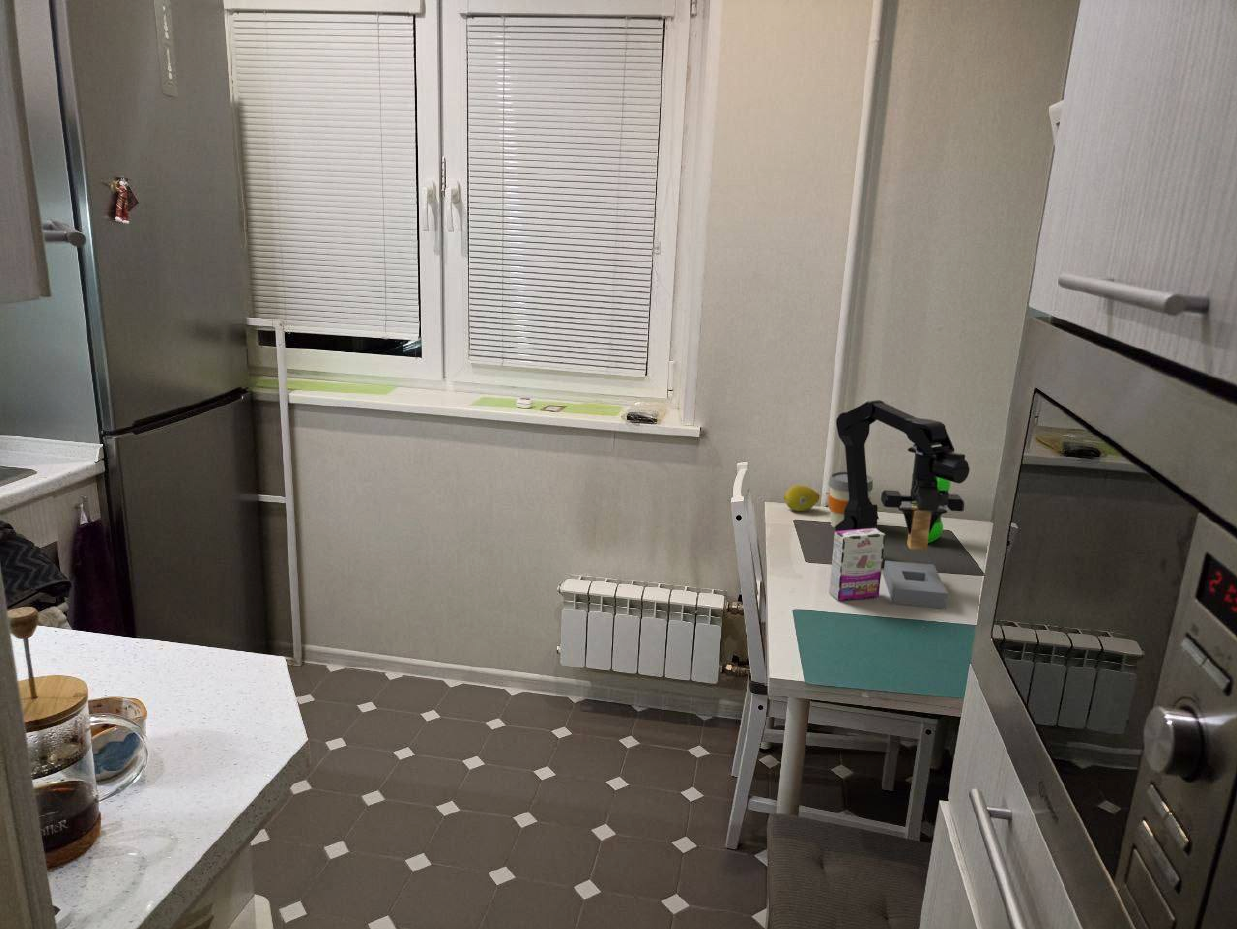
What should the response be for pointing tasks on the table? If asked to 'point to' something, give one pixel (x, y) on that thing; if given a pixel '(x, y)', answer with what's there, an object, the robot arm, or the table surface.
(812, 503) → the lemon
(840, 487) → the reusable coffee cup
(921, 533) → the peg
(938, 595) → the socket block
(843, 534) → the candy bar box
